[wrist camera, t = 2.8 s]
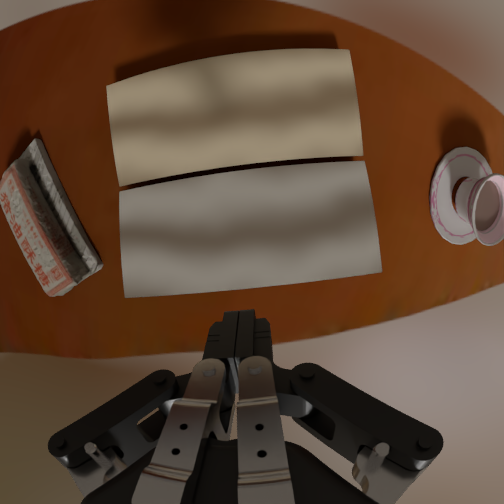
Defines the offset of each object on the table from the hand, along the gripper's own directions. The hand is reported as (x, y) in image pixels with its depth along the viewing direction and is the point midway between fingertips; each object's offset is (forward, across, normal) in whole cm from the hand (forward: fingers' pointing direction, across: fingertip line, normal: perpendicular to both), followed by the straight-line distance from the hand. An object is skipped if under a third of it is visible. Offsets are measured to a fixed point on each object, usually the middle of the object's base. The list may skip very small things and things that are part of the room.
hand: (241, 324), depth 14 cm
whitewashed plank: (+12, 0, -1) cm, 12 cm away
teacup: (+15, -26, -2) cm, 30 cm away
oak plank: (+14, 0, -12) cm, 19 cm away
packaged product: (+15, +24, -5) cm, 29 cm away
